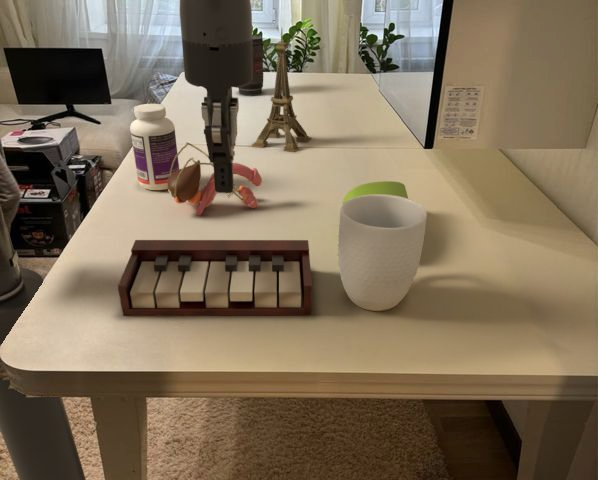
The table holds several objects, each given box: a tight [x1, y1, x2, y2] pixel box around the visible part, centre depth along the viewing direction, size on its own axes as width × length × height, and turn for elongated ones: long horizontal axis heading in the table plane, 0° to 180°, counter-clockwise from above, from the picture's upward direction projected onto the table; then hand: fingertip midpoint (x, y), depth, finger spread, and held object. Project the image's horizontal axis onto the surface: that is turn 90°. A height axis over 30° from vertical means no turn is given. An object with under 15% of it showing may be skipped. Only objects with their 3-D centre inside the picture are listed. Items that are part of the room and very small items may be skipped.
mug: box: [337, 194, 428, 312], centre depth 80 cm, size 15×11×13 cm
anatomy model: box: [167, 142, 263, 216], centre depth 105 cm, size 10×14×15 cm
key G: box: [230, 261, 254, 301], centre depth 81 cm, size 3×8×1 cm, turn 2°
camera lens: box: [237, 34, 265, 96], centre depth 172 cm, size 8×8×15 cm
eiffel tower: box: [251, 28, 312, 153], centre depth 131 cm, size 11×11×25 cm
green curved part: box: [341, 180, 409, 206], centre depth 97 cm, size 8×12×20 cm
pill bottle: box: [129, 103, 180, 191], centre depth 112 cm, size 8×8×14 cm
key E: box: [180, 261, 209, 301], centre depth 81 cm, size 3×8×1 cm, turn 2°
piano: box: [117, 239, 313, 317], centre depth 82 cm, size 25×12×5 cm, turn 92°
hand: (224, 190), depth 74 cm, fingers closed
